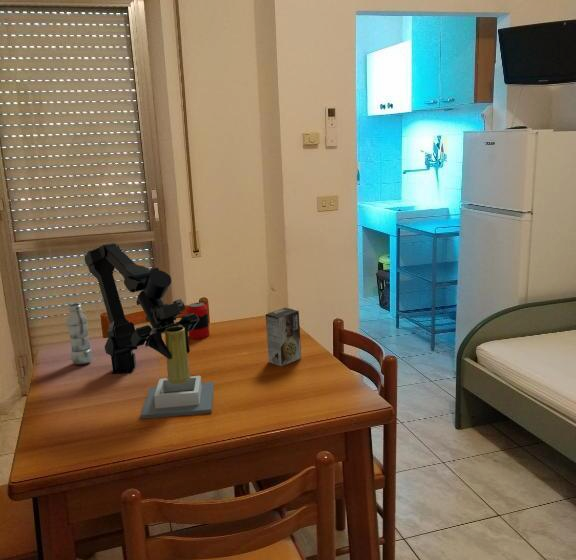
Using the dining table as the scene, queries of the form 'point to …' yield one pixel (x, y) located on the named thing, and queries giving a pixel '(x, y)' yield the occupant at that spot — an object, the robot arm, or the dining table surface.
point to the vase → (177, 355)
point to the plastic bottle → (78, 335)
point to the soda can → (203, 325)
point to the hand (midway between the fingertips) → (179, 355)
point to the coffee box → (283, 336)
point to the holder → (179, 398)
